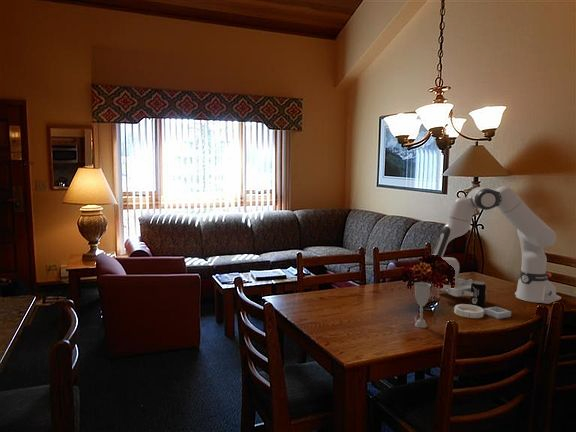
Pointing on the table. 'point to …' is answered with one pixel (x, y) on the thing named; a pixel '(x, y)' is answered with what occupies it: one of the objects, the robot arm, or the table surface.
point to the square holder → (497, 312)
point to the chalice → (422, 300)
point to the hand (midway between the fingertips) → (479, 293)
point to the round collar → (469, 311)
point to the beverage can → (478, 293)
